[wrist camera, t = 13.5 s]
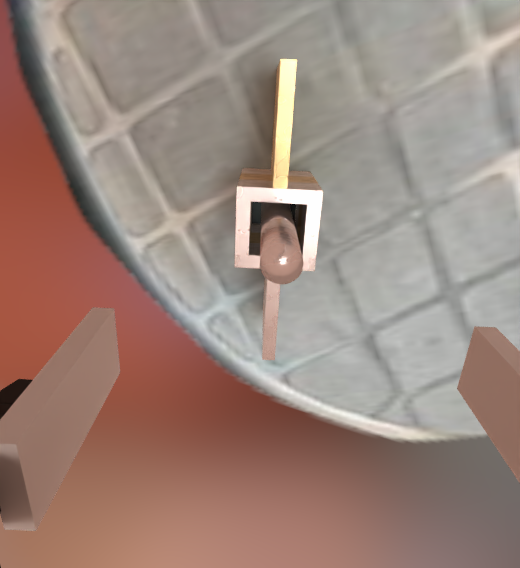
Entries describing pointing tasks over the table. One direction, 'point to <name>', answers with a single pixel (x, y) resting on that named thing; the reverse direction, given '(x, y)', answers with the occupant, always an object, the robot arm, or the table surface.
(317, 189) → the hinge
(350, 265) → the table surface
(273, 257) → the hinge pin
